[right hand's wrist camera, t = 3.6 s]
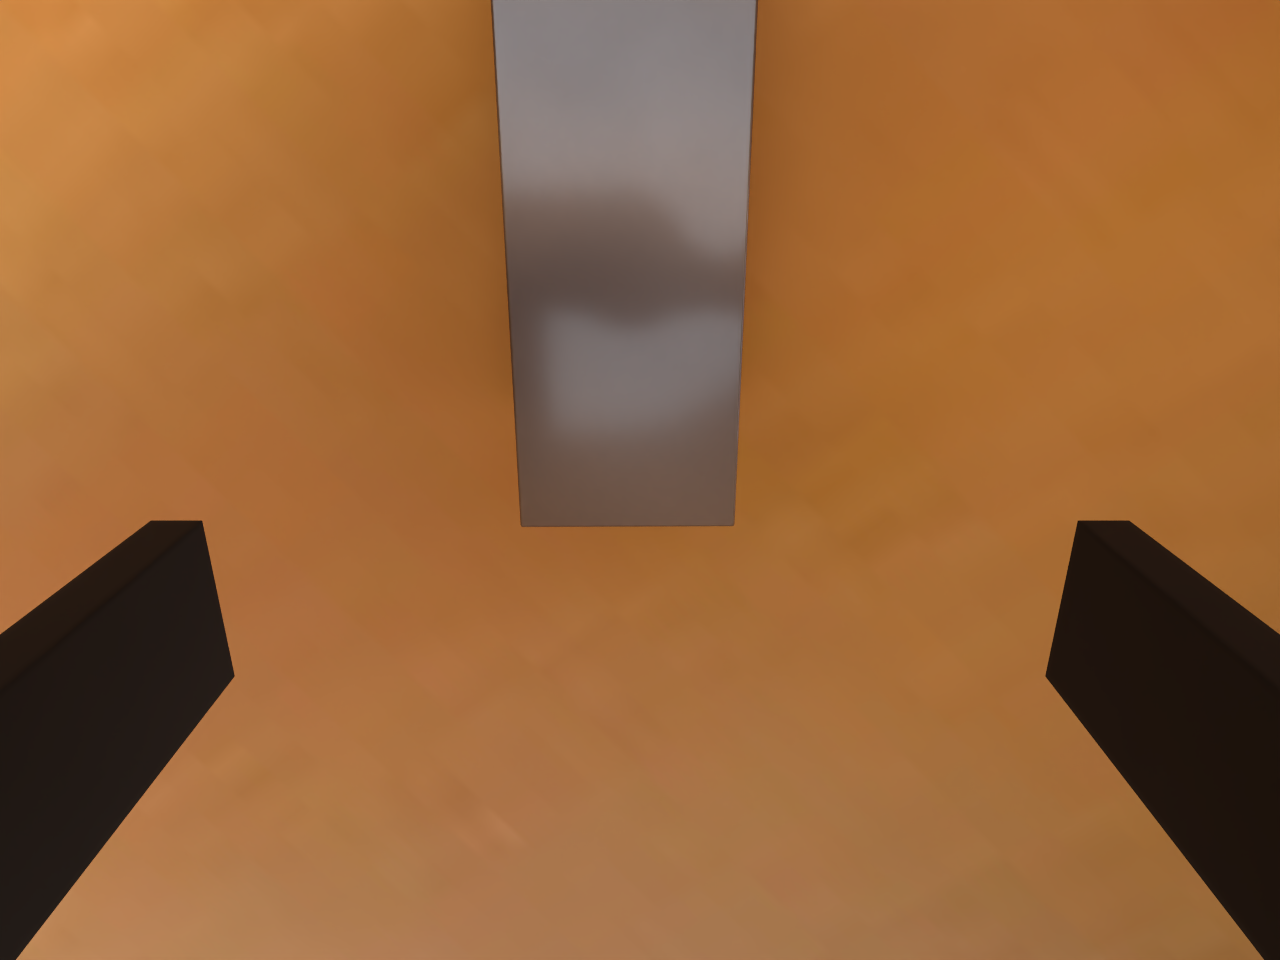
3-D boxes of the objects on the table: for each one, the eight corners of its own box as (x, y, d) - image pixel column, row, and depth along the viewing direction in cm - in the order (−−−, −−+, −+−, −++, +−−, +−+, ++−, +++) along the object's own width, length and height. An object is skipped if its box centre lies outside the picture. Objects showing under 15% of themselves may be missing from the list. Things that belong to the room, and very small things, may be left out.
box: (701, 404, 36) (734, 526, 24) (556, 404, 36) (520, 527, 24) (720, -304, 27) (787, -647, 15) (530, -305, 27) (453, -649, 15)
